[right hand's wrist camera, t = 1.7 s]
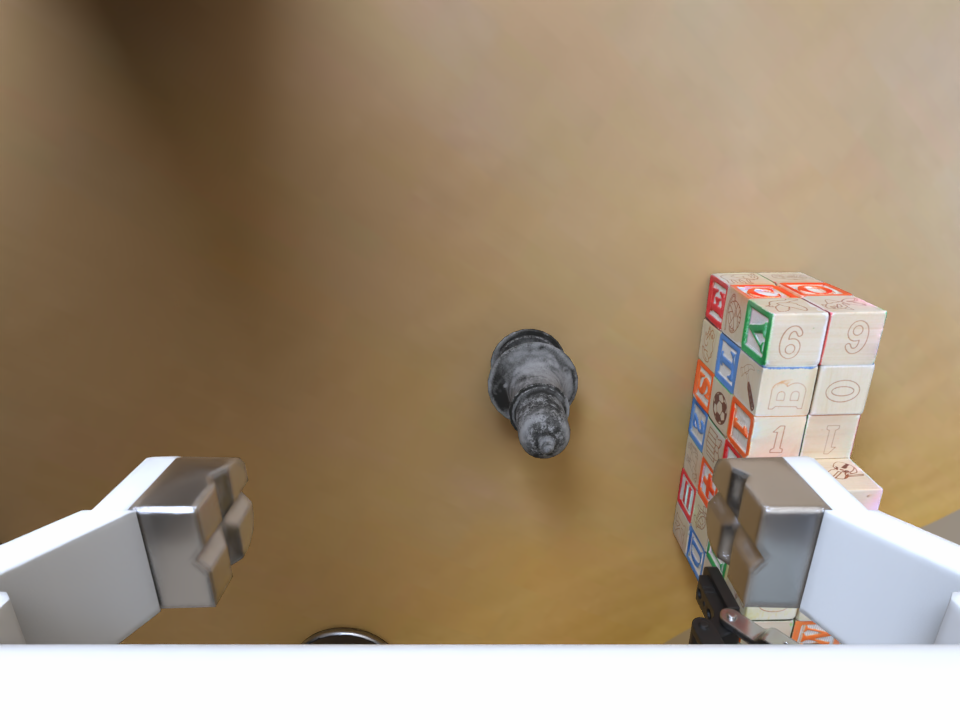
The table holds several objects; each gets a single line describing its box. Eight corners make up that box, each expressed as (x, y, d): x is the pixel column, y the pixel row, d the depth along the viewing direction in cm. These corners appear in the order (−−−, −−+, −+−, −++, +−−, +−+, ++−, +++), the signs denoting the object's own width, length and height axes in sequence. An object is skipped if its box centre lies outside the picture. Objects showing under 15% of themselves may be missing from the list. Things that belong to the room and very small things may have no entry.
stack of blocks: (706, 271, 39) (804, 329, 27) (800, 269, 39) (936, 327, 28) (671, 532, 47) (736, 663, 35) (749, 531, 47) (838, 661, 35)
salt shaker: (586, 355, 41) (629, 439, 30) (535, 416, 43) (557, 517, 31) (520, 308, 40) (538, 378, 28) (470, 373, 41) (469, 463, 30)
